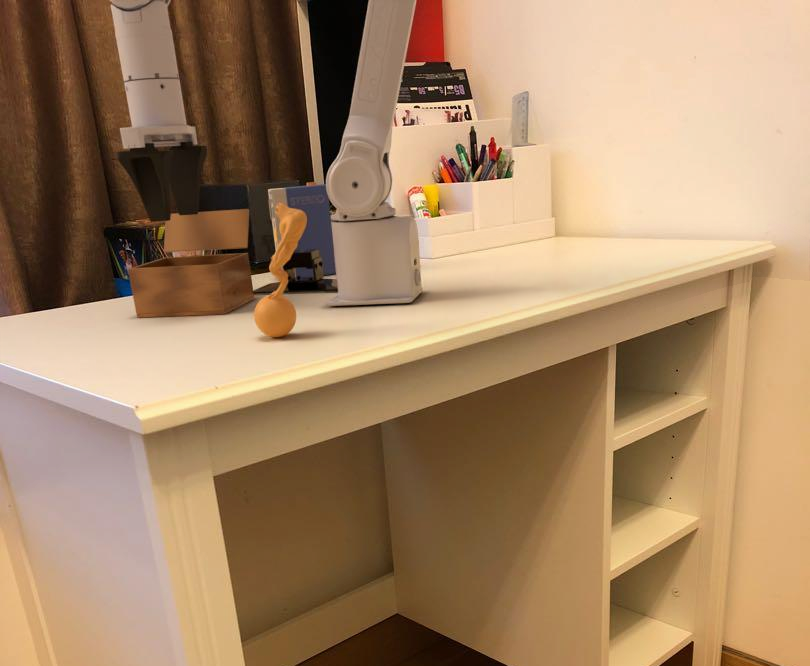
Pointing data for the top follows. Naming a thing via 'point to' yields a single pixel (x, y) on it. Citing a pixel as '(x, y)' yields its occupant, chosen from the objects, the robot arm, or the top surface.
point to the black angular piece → (303, 284)
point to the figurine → (281, 276)
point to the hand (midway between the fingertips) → (175, 217)
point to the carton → (191, 285)
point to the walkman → (317, 226)
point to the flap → (207, 231)
